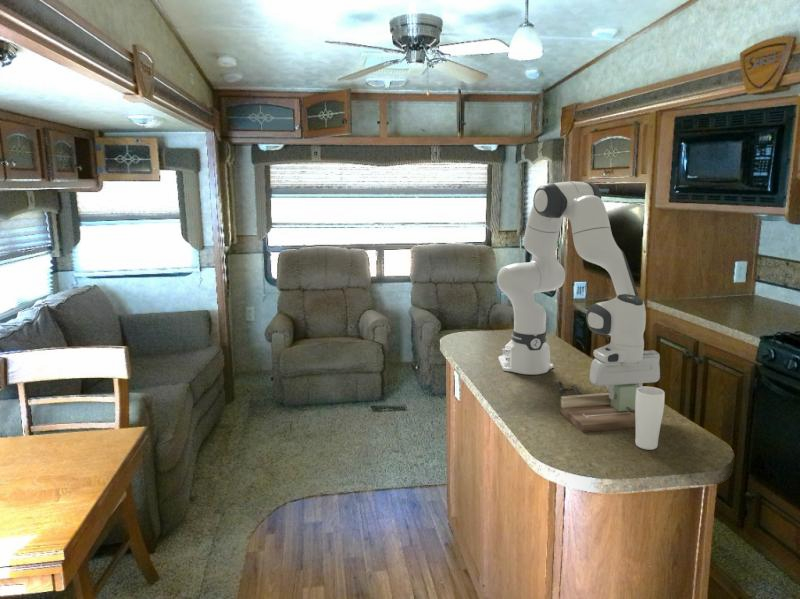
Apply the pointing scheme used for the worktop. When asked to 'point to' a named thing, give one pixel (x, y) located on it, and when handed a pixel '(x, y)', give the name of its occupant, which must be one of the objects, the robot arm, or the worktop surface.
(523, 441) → the worktop surface
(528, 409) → the worktop surface
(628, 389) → the block
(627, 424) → the walnut board
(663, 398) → the drinking glass
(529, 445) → the worktop surface
